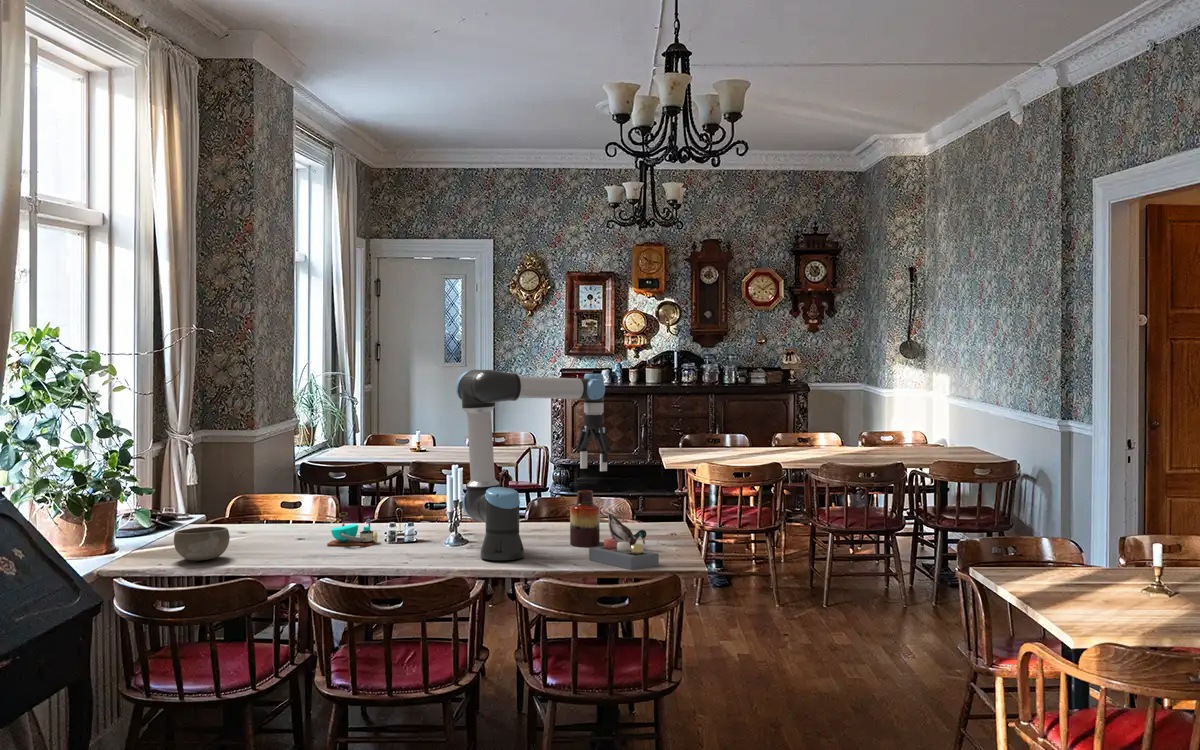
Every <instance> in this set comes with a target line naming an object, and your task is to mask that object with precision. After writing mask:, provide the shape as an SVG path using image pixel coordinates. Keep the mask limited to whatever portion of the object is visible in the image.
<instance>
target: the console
mask: <svg viewBox="0 0 1200 750" xmlns="http://www.w3.org/2000/svg"><path fill="white" fill-rule="evenodd" d="M588 560H589V561H591V562H596V563H600V564H604V565H605V564H606V565H608V566H613V567H618V568H621V569H625V570H630V571H631V570H637V569H644V568H651V567H658V566H659V564H660V561H659V560H660V559H659V553H658V552H653V551H650V550H649V551H648V550H644V549H643V555H638V556H635V555H631V548H630V552H625V553H621V552H617V544H616V549H613V550H607V549H604V545H603V546H595V547H588Z"/></svg>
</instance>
